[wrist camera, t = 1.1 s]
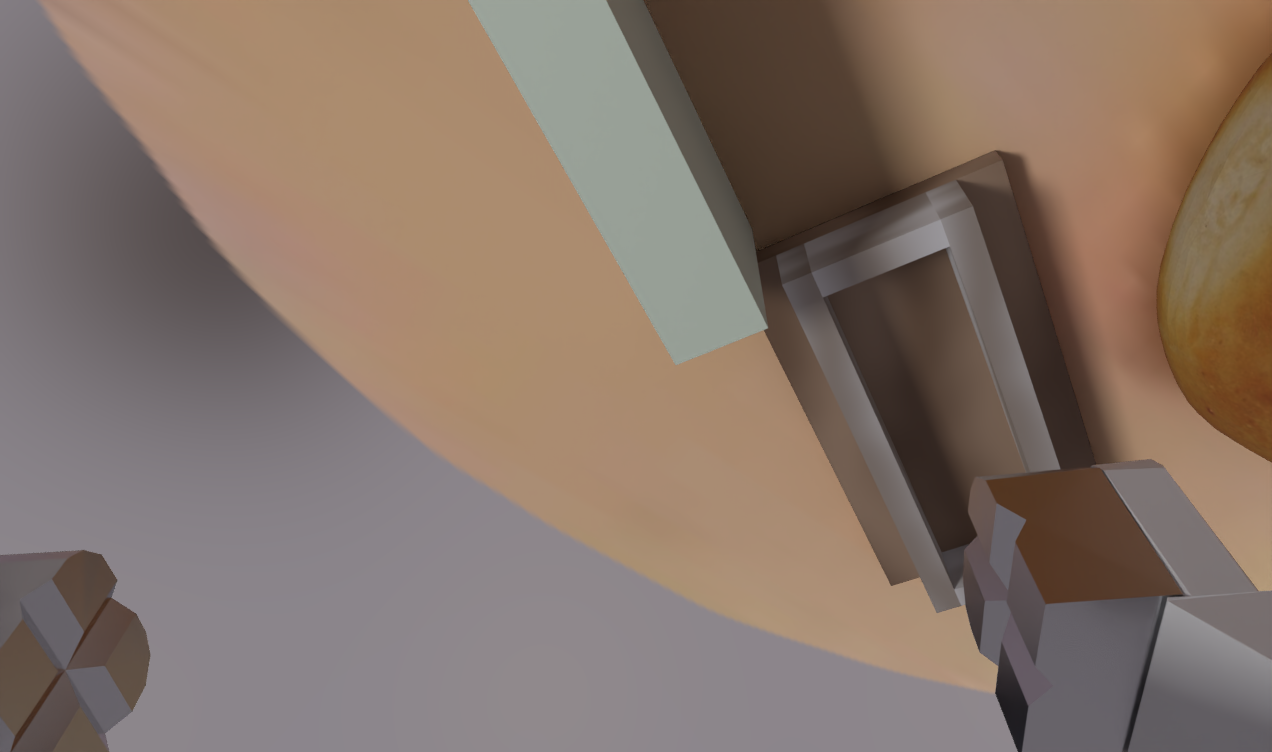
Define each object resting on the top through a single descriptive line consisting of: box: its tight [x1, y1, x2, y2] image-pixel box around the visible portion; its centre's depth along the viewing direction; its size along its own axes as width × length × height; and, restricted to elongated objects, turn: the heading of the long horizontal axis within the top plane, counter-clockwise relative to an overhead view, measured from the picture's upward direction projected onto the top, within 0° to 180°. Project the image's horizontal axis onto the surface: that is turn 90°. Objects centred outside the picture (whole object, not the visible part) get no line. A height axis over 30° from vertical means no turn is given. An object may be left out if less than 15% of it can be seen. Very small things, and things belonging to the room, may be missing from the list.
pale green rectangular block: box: [468, 0, 768, 365], centre depth 33 cm, size 4×14×8 cm, turn 27°
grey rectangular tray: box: [756, 151, 1096, 613], centre depth 42 cm, size 11×20×4 cm, turn 27°
